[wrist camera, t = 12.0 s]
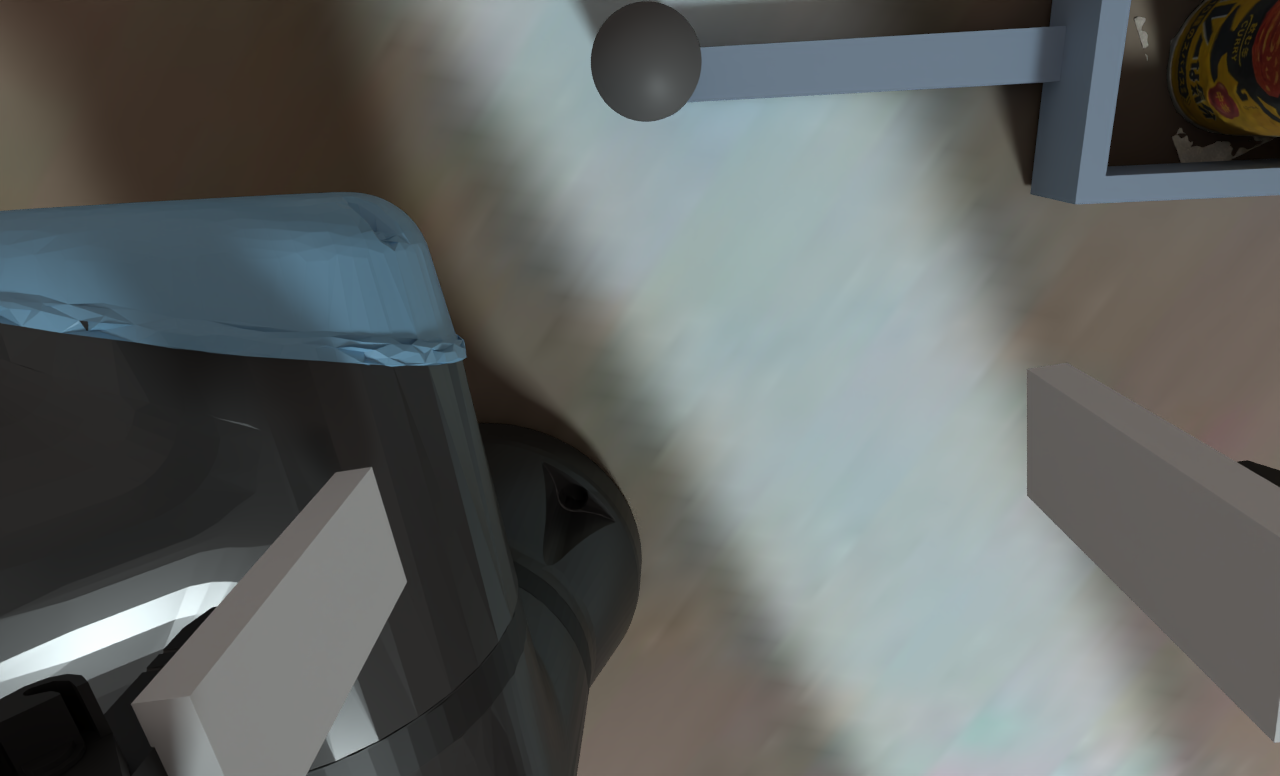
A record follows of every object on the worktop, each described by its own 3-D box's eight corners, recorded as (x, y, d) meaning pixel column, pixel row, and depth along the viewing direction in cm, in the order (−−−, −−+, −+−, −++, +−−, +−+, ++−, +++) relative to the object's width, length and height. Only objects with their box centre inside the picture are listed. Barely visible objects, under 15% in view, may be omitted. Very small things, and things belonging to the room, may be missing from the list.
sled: (625, 212, 35) (603, 255, 24) (609, -67, 31) (576, -157, 21) (1321, 180, 33) (1617, 211, 22) (1391, -121, 29) (1784, -249, 19)
